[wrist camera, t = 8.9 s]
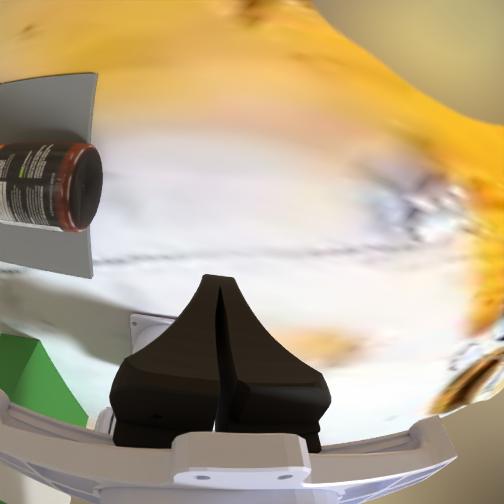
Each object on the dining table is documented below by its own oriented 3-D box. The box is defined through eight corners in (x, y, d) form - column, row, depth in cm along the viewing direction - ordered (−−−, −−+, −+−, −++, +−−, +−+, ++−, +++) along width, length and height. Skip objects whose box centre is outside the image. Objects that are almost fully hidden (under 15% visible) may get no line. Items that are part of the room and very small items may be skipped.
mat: (93, 275, 24) (91, 278, 23) (-18, 253, 21) (-21, 256, 21) (98, 73, 16) (94, 73, 15) (-29, 91, 13) (-33, 92, 13)
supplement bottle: (109, 194, 21) (6, 185, 19) (102, 126, 16) (-10, 129, 14) (81, 254, 17) (-27, 234, 15) (60, 182, 13) (-54, 176, 11)
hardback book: (88, 416, 36) (64, 546, 15) (52, 408, 35) (23, 528, 14) (39, 339, 27) (-24, 512, 6) (1, 333, 27) (-64, 480, 6)
